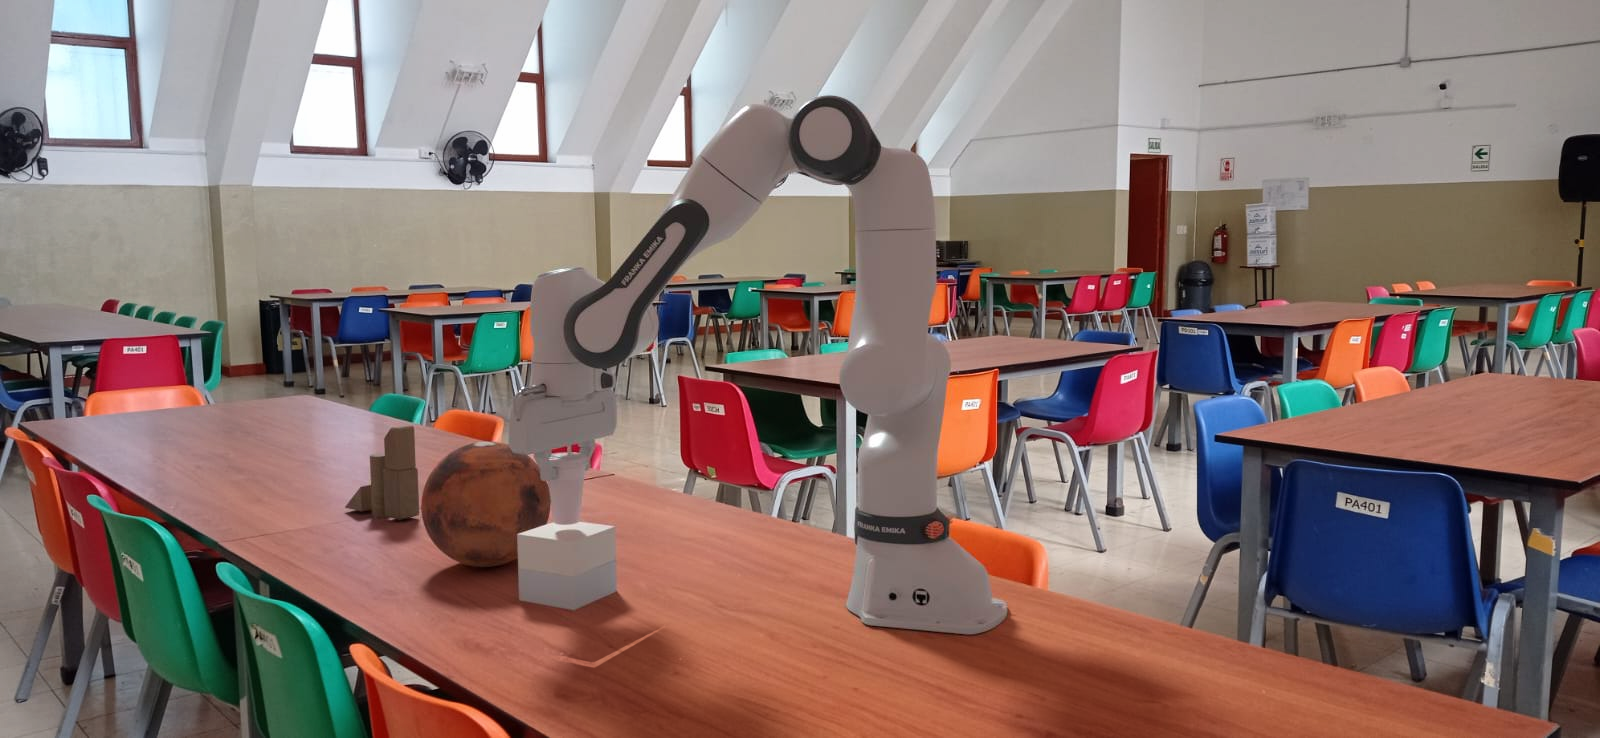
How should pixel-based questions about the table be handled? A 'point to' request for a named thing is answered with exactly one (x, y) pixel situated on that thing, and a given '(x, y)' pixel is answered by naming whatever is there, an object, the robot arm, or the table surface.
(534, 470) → the planet model
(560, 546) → the tower top block
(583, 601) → the tower base block
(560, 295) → the robot arm
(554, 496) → the smoothie
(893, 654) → the table surface
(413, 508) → the wooden block set
